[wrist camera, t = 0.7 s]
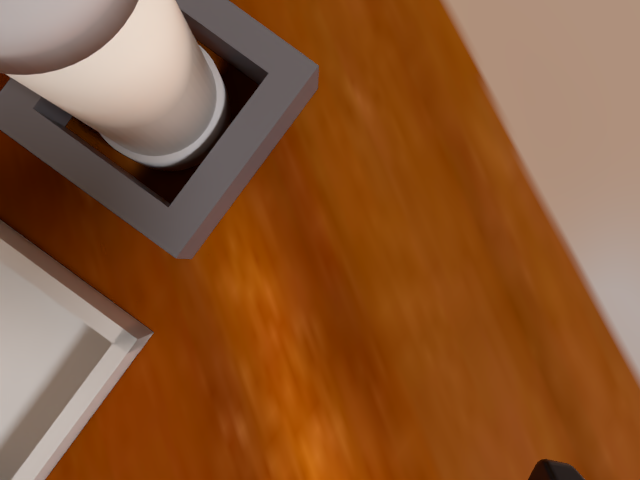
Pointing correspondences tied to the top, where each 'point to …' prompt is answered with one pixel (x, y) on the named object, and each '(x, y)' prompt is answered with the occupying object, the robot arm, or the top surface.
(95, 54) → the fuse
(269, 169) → the top surface
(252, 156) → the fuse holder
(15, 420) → the parts tray
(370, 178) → the top surface
